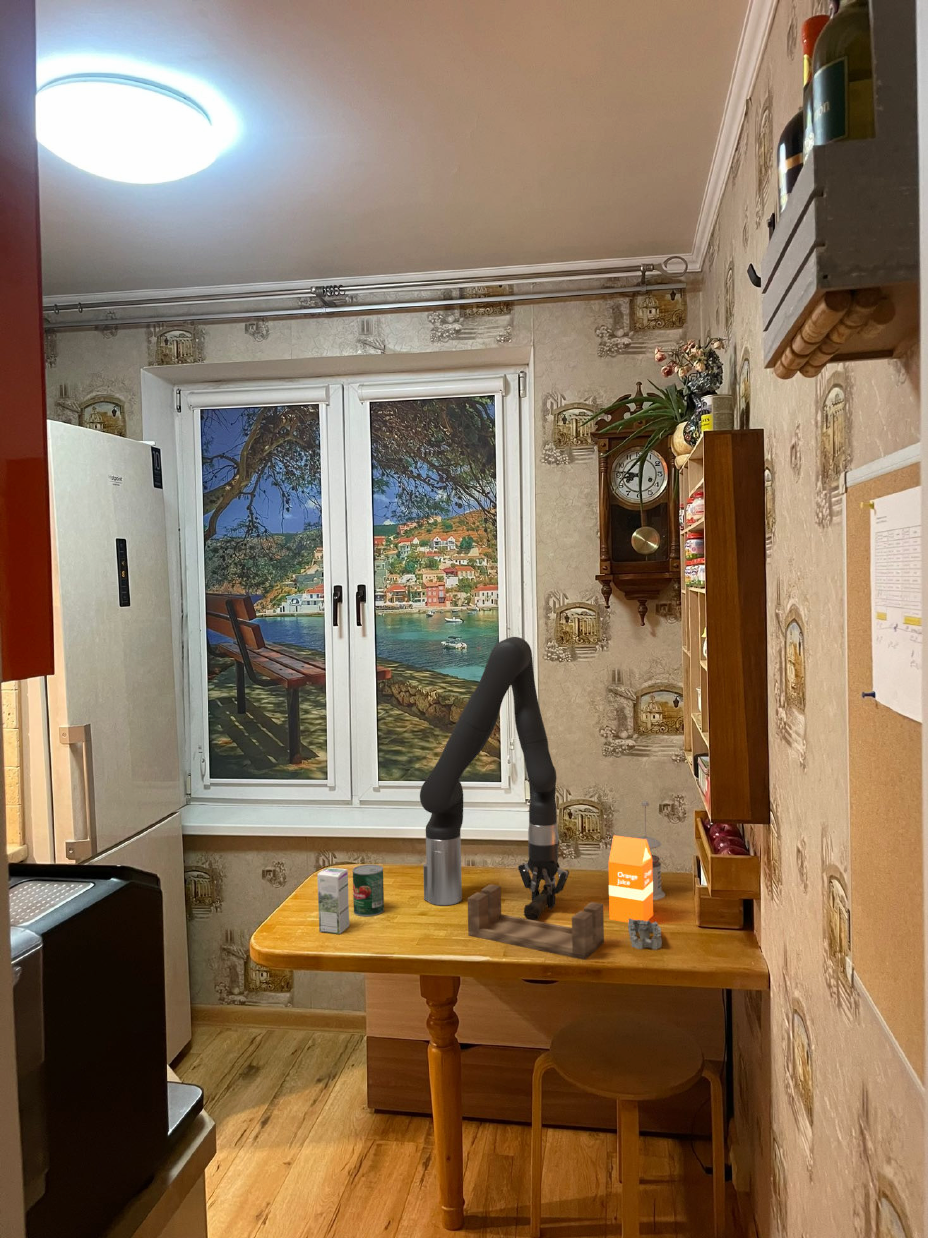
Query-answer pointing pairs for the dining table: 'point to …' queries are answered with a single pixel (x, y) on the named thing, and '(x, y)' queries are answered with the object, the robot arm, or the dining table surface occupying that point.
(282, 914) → the dining table surface
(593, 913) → the cradle
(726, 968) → the dining table surface
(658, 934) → the egg carton
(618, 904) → the orange juice
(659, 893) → the french press
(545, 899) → the hand tool
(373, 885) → the canned tomato
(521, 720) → the robot arm
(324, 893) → the syrup box
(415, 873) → the dining table surface
